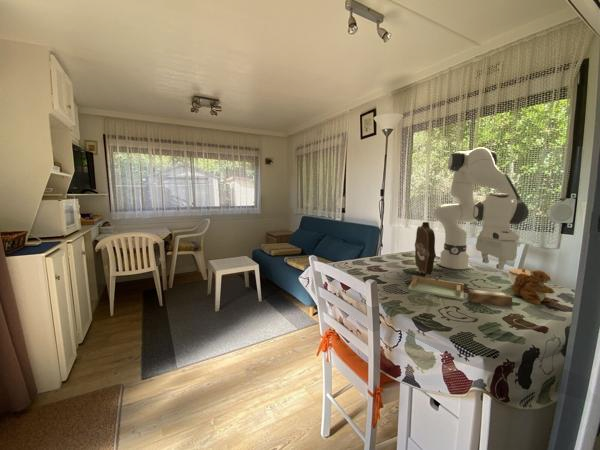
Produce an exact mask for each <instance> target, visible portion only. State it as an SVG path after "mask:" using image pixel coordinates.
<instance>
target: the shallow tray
mask: <svg viewBox="0 0 600 450" xmlns="http://www.w3.org/2000/svg"><path fill="white" fill-rule="evenodd" d="M407 289H408V291H414V292H419V293H423V294H428V295H433V296H434V295H435V296H439V297H444V298H451V299H455V300H459V301H460V300H461V301H464V299H465V297H464V291H465V290H464V289H465V283H464V282H463V283H462V282H456V281H450V280H443V279H439V277H438V276H437V277H435V278H431V277H426V276H420V275H414V274H413V275H412V276H411V282H410V284H409V285H408V288H407Z"/></svg>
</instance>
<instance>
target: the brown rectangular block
mask: <svg viewBox="0 0 600 450" xmlns="http://www.w3.org/2000/svg"><path fill="white" fill-rule="evenodd" d="M467 298H468V300H469V301H470V302H471V303H479V304H488V305H496V306H506V307H512V305H513V304H512V303H513V296H511V295H510V294H509V293H507V292H501V291H491V290H490V291H489V290H481V289H479V290H478V289H471V288H469V289H467Z"/></svg>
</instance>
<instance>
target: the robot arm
mask: <svg viewBox="0 0 600 450" xmlns="http://www.w3.org/2000/svg"><path fill="white" fill-rule="evenodd" d="M447 160H448V161H447V164H448V168H449V170H450V171H452V172H454V173H453V176H452V182H451V187H450V195H451V196H452V197H454V198H455V199H457V200H458V202H459V203H443V204H438V205H437V206H436V207H435V209H434V212H433V213H434V217H435V219H436V220H437V221H438V222H440V223H441V225H442V227H443V228H444V233H445V235H444V236H445V239H444V243H443V250H442V251H440V255H439V256H440V257H439V261H436V263H435V264H436V265H439V266H441V267H443V268H447V269H454V270H469V269H470V270H471V269H473V268H472V265H470V263H469V261H470V260H469V257H470V255H469V253H467V248H468V247H467V235H468V234H467V231H466V230H465V229H463V228H461V227H459V226H458V223H473V222H479V223H482V229H481V231H480V232H479V234H478V235H477V238H476V243H475V249H476V250H477V251H479V252H481V253H480V254H481V258H482V263H484V264H489V263H490V259H489V257H488V255H489V256H492V257H495V258H497V259H498V261H499V262H498V263H497V264H496V265H495V266H496V267H495V268H496V269H497V270H501V271H503V270H504V269H505V268H504V267H505V265H506V263H507V262H508V261H509V262H511V261H514V260H515V259H516V258H517V253H518V243H517V241H519V235H518V234H517V233H515V232H514V231H513V230H512V229H511V225H514V226H515V225H517V226H518V225H520V224H521V223H523V222H525V221H526V220H527V219H528V216H529V207H528V206H527V204H526V203H525V202H524V200H523V199H522V198H521V197H520V194H519V193H518V191H517V189H516V188H515V185H514V184H513V182H512V180H511V178H510V177H509V175H507V173H504V172H503V171H501V170H500V169H499V168H498V167H497V162H498V154H497V152H496V151H493V150H489V149H488V148H485V147H477V148H474V149H472V150H465V151H464V150H462V151H456V152H453V153H451V154H450V156H449V158H448V159H447ZM475 185H477V186H478V185H479V186H481V187H487V188H491V189H494V190H496V191H498V192H492V193H488V194H487V195H486V197H485V199H484V200H482V201H479V202H477V203H476V200H475V198H474V187H475Z"/></svg>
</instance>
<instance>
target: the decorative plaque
mask: <svg viewBox="0 0 600 450" xmlns="http://www.w3.org/2000/svg"><path fill="white" fill-rule="evenodd" d="M415 235H416V237H415V243H414V249H415V251H414V261H415V262H414V263H415V265H416V267H417V268H418V269H417V270H418V271H419V272H418V273H419V276H420V275H422V276H421V277H426V275H432V273H433V271H434V263H435V259H436V256H437V255H436V246H435V245H436V237H435V236H436V235H435V231H434V230H433V229H432V228H431V227H430V223H429V221H428V222H427V221H426V222H425V221H423V222H422V224H421V226H417V228H416V233H415Z"/></svg>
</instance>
